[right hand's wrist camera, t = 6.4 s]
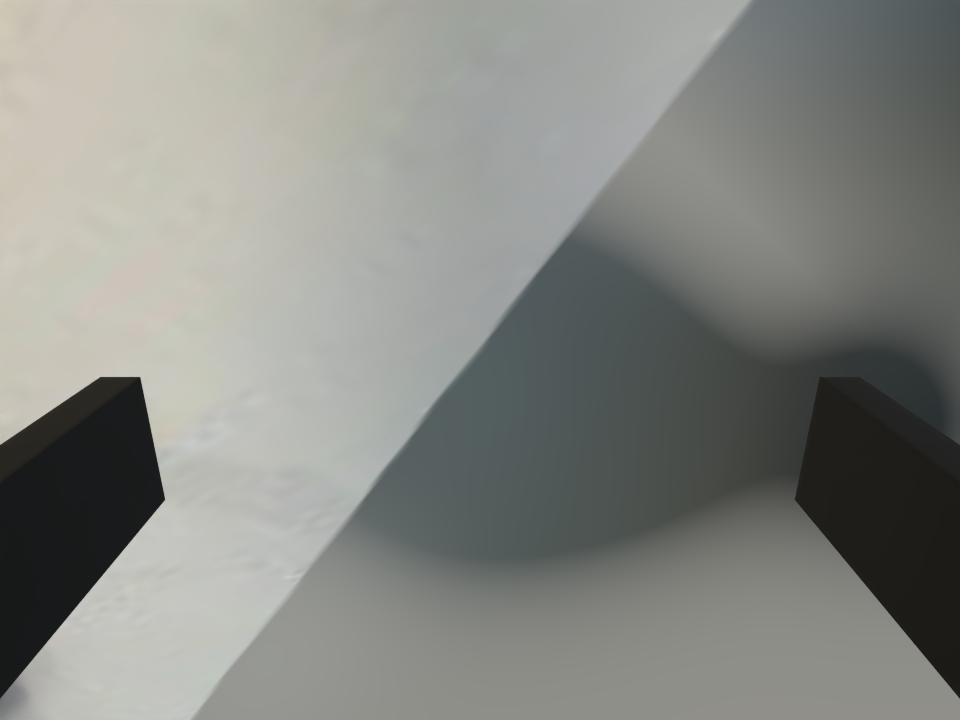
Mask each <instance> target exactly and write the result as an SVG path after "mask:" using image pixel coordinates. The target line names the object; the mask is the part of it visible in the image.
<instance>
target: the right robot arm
mask: <svg viewBox="0 0 960 720" xmlns="http://www.w3.org/2000/svg"><path fill="white" fill-rule="evenodd" d="M164 500H165V497H164V492H163V487H162V482H161V477H160V472H159V467H158V462H157V457H156V453H155V448H154V443H153V438H152V433H151V428H150V423H149V418H148V413H147V408H146V403H145V399H144V394H143V389H142V384H141V379H140V377H100V378H98V379H97V380H96V381H94V382H93V383H91V384H90V385H88V386H87V387H85V388H84V389H82V390H81V391H79V392H78V393H76V394H75V395H73V396H72V397H70V398H69V399H67V400H66V401H65V402H63V403H62V404H60V405H59V406H57V407H56V408H54V409H53V410H51V411H50V412H48V413H47V414H45V415H44V416H42V417H41V418H39V419H38V420H36V421H35V422H34V423H32V424H31V425H29V426H28V427H26V428H25V429H23V430H22V431H20V432H19V433H17V434H16V435H14V436H13V437H11V438H10V439H8V440H7V441H5V442H4V443H3V444H1V445H0V698H1V697H2V696H3V695H4V693H5V692H6V691H7V690H8V688H9V687H10V686H11V685H12V684H13V682H14V681H15V680H16V679H17V678H18V676H19V675H20V674H21V673H22V672H23V670H24V669H25V668H26V667H27V666H28V664H29V663H30V662H31V661H32V660H33V658H34V657H35V656H36V655H37V654H38V652H39V651H40V650H41V649H42V647H43V646H44V645H45V644H46V643H47V641H48V640H49V639H50V638H51V637H52V635H53V634H54V633H55V632H56V631H57V629H58V628H59V627H60V626H61V625H62V623H63V622H64V621H65V620H66V619H67V617H68V616H69V615H70V614H71V613H72V611H73V610H74V609H75V608H76V606H77V605H78V604H79V603H80V602H81V600H82V599H83V598H84V597H85V596H86V594H87V593H88V592H89V591H90V590H91V588H92V587H93V586H94V585H95V584H96V582H97V581H98V580H99V579H100V578H101V576H102V575H103V574H104V573H105V572H106V570H107V569H108V568H109V567H110V565H111V564H112V563H113V562H114V561H115V559H116V558H117V557H118V556H119V555H120V553H121V552H122V551H123V550H124V549H125V547H126V546H127V545H128V544H129V543H130V541H131V540H132V539H133V538H134V537H135V535H136V534H137V533H138V532H139V531H140V529H141V528H142V527H143V526H144V524H145V523H146V522H147V521H148V520H149V518H150V517H151V516H152V515H153V514H154V512H155V511H156V510H157V509H158V508H159V506H160V505H161V504H162V503H163V502H164ZM795 500H796V502H797V503H798V504H799V505H800V506H801V508H802V509H803V510H804V511H805V512H806V514H807V515H808V516H809V517H810V518H811V520H812V521H813V522H814V523H815V524H816V526H817V527H818V528H819V529H820V531H821V532H822V533H823V534H824V535H825V537H826V538H827V539H828V540H829V541H830V542H831V544H832V545H833V546H834V547H835V549H836V550H837V551H838V552H839V553H840V555H841V556H842V557H843V558H844V559H845V561H846V562H847V563H848V564H849V565H850V567H851V568H852V569H853V570H854V572H855V573H856V574H857V575H858V576H859V578H860V579H861V580H862V581H863V582H864V584H865V585H866V586H867V587H868V588H869V590H870V591H871V592H872V593H873V594H874V596H875V597H876V598H877V599H878V600H879V602H880V603H881V604H882V605H883V606H884V608H885V609H886V610H887V611H888V613H889V614H890V615H891V616H892V617H893V619H894V620H895V621H896V622H897V623H898V625H899V626H900V627H901V628H902V629H903V631H904V632H905V633H906V634H907V635H908V637H909V638H910V639H911V640H912V641H913V643H914V644H915V645H916V646H917V647H918V649H919V650H920V651H921V652H922V653H923V655H924V656H925V657H926V658H927V660H928V661H929V662H930V663H931V664H932V666H933V667H934V668H935V669H936V670H937V672H938V673H939V674H940V675H941V676H942V678H943V679H944V680H945V681H946V682H947V684H948V685H949V686H950V687H951V688H952V690H953V691H954V692H955V693H956V694H957V696H958V697H959V698H960V445H959V444H957V443H956V442H954V441H953V440H952V439H950V438H949V437H947V436H946V435H944V434H943V433H941V432H940V431H938V430H937V429H935V428H934V427H932V426H931V425H929V424H928V423H926V422H925V421H924V420H922V419H921V418H919V417H918V416H916V415H915V414H913V413H912V412H910V411H909V410H907V409H906V408H904V407H903V406H901V405H900V404H898V403H897V402H895V401H894V400H892V399H891V398H890V397H888V396H887V395H885V394H884V393H882V392H881V391H879V390H878V389H876V388H875V387H873V386H872V385H870V384H869V383H867V382H866V381H864V380H863V379H862V378H860V377H820V379H819V384H818V389H817V394H816V399H815V403H814V409H813V413H812V418H811V423H810V428H809V433H808V438H807V443H806V448H805V452H804V457H803V462H802V467H801V472H800V477H799V482H798V487H797V492H796V497H795Z"/></svg>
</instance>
